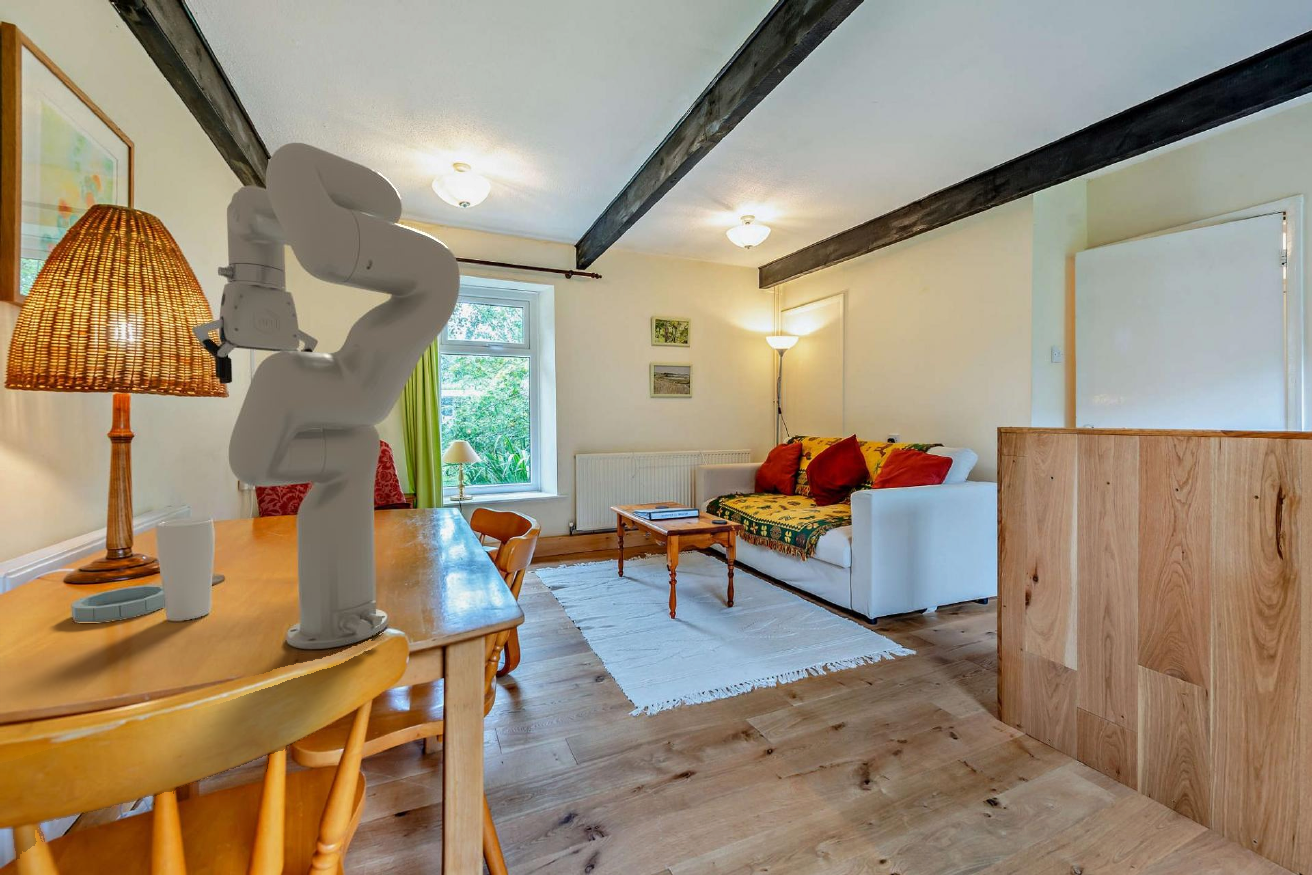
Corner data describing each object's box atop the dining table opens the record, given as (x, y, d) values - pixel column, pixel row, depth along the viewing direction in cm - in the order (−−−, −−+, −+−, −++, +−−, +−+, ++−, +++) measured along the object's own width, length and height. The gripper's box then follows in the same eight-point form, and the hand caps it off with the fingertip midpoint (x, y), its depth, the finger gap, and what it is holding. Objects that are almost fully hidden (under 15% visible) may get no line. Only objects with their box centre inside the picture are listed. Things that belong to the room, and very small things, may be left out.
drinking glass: (148, 621, 81) (144, 524, 80) (198, 606, 87) (194, 516, 87) (179, 626, 79) (175, 526, 78) (227, 610, 85) (224, 518, 85)
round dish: (179, 606, 87) (179, 592, 87) (82, 629, 78) (81, 613, 78) (158, 594, 93) (158, 581, 93) (66, 614, 84) (65, 599, 84)
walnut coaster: (232, 581, 100) (232, 579, 100) (169, 595, 93) (169, 592, 93) (214, 573, 105) (214, 571, 105) (154, 585, 98) (154, 583, 98)
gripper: (199, 265, 79) (203, 381, 79) (325, 288, 93) (327, 386, 94) (182, 272, 83) (186, 382, 83) (305, 294, 97) (307, 387, 98)
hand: (261, 384), depth 89 cm, fingers open, 9 cm apart
